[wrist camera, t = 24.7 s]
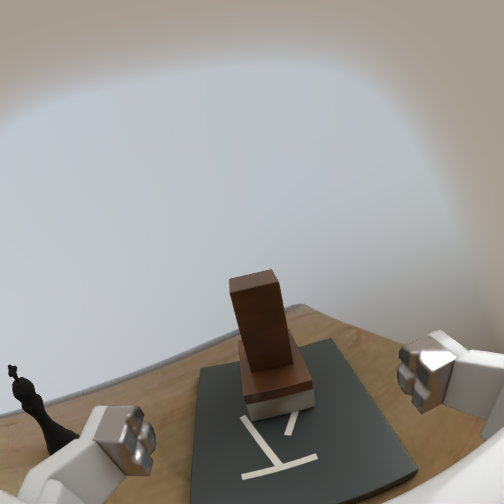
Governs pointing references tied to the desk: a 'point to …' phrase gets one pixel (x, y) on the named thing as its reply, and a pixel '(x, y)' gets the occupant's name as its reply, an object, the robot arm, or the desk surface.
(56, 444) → the chess piece
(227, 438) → the chalkboard
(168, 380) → the desk surface
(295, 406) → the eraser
